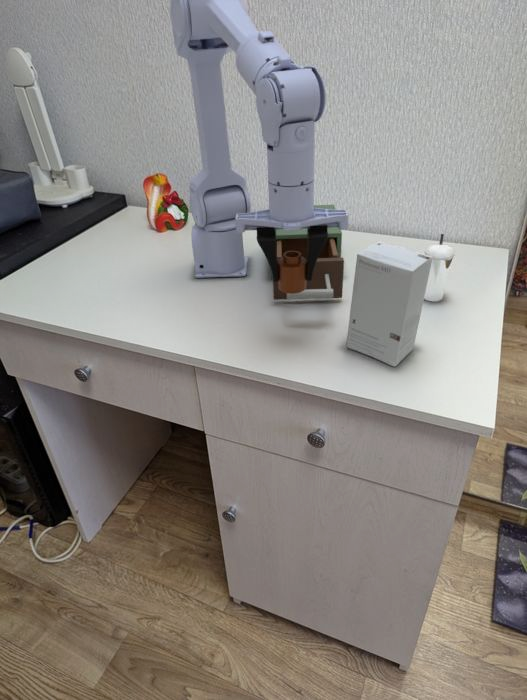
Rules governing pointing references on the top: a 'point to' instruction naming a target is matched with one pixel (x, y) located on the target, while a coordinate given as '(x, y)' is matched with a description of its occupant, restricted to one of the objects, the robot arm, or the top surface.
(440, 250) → the milkshake
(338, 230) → the cabinet
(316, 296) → the drawer
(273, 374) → the top surface
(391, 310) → the cosmetic box
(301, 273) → the spice bottle
